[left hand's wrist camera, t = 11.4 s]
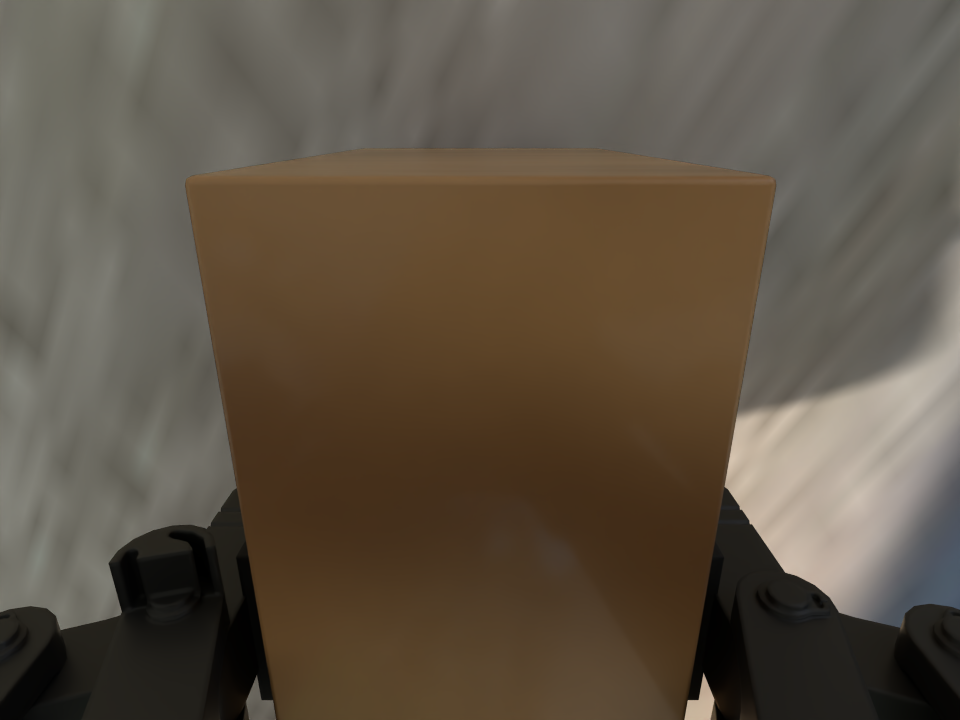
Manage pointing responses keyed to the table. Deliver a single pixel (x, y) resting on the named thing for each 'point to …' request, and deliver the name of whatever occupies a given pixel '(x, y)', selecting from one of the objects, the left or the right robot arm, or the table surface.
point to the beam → (480, 420)
